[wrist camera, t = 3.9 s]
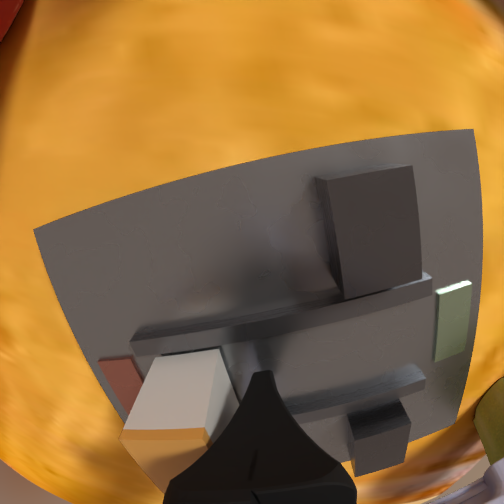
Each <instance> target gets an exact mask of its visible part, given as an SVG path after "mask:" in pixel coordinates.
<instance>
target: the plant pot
mask: <svg viewBox="0 0 504 504" xmlns="http://www.w3.org/2000/svg"><path fill="white" fill-rule="evenodd" d="M473 422H474V425H475V427H476V429H477V432H478V434H479V437H480V439H481V442H482V444H483V446H484V449H485V451H486V454H487V457H488V460H489V462H490V465H492V464H494V463H495V462H497V461H498V460H500V459H502V458H503V457H504V377H503V378H501V379H499V380H498V381H497V382H496V383H495V384H494V385H493V386H492V387H491V388H490V389H489V390H488V392H487V393H486V394H485V395H484V397H483V398H482V399H481V401H480V403H479V404H478V406H477V408H476V414H475V419H474V420H473Z"/></svg>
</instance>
